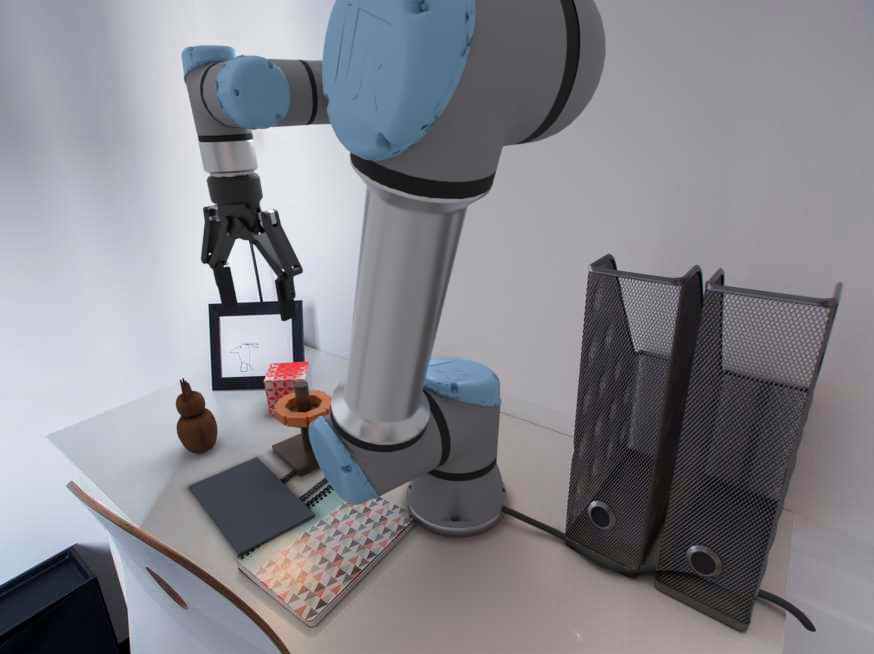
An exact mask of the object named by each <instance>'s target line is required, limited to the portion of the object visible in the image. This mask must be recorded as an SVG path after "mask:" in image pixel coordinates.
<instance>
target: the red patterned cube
mask: <svg viewBox="0 0 874 654" xmlns="http://www.w3.org/2000/svg"><path fill="white" fill-rule="evenodd" d="M298 381H306V382H308V387H309V390H314V385H313V384H314V383H313V377H312V369H311V364H310V361H293V362H271V363H270V365H269V367H268V369H267V372H266V374H265V376H264V379H263V384H264V391H265V395H266V396H265V397H266V401H267V407H268V411H269V416H272V417H273V416H274V417H275V412H274V406H275V405H276V403H277V402H278V400H279V399H280V398H282V397H283V396H285V395H288V394H291V393H294V386H293V385H294V383H295V382H298Z"/></svg>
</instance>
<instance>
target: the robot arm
mask: <svg viewBox="0 0 874 654" xmlns="http://www.w3.org/2000/svg"><path fill="white" fill-rule="evenodd" d="M603 23H604V22H603V17H602V16H601V13H600V11H599V8H598V6H597V3H596V2H595V0H335V1H334V2H333V5H332V7H331V12H330V15H329V18H328V22H327V26H326V31H325V36H324V43H323V48H322V49H323V50H322V59H297V58H296V59H294V58H293V59H290V58H288V59H287V58H267V57H263V56H260V55H253V54H252V55H245V54H244V55H243V54H241V55H240V54H239V53H238V50H236V49H235V48H234V47H232V46H229V45H219V44H216V45H215V44H203V45H202V44H201V45H193V46H192V45H191V46H187V47H185V48H183V49H182V51H181V57H180V58H181V63H182V68H183V70H182V71H183V82H184V83H185V85H186V90H187V95H188V99H189V103H190V104H189V105H190V108H191V114H192V118H193V123H194V126H195V127H194V128H195V132H196V136H197V141H198V147H199V152H200V158H201V162H202V168H203V171H204V173H207V174H209V176H207V178H206V185H207V189H208V194H209V198H210V199H209V200H210V201H211V203H212V204H213V205H212V204H211V205H208V206H203V208H202V213H203V219H204V224H203V233H202V235H203V236H202V243H201V252H200V262H201V264H203V265H206V264H207V265H208V266H209V268H210V269H211V270H212V273H213V277H214V281H215V286H216V287H217V289H218V295H219V298H220V303H221V307H222V309H224V310H225V309H229V308H231V307H235V306H237V305H238V298H237V293H236V288H235V284H234V278H233V274H232V270H231V269H232V268H231V266H228V265H229V264H230V263H229V261H228V260H229V258H230V255H231V253H232V250H233V248H234V245H235V243H236V240H238V239H239V240H243V241H248V242H249V244H251V245H253V246H255V248H256V249H257V251H258V252H259V253H260V255H261V256H262V257H263V259H264V260H265V262H266V263H267V264H268V266H269V267H270V268H271V270H272V271H273V273H274V274H275V276H276V277H277V278H276V279H274V285H275V292H276V297H277V304H278V310H279V316H280V321H282V322H286V321H289V320H291V319H293V318H295V317H297V309H296V302H295V299H296V297H297V294H296V293H297V292H296V288H295V287H296V286H295V280H294V279H295V277H296V276H299V275H301V274H303V273H304V269H303V266H302V264H301V262H300V261H299V258H298V256H297V254H296V252H295V250H294V248H293V246H292V244H291V242H290V240H289V238H288V236H287V234H286V231H285V230H284V227H283V226H282V223H281V217H280V214H279V211H278V209H276V208H273V209H269V210H263V209H262V206H261V201H262V199H263V197H264V195H263V188H262V181H261V177H260V175H259V173H257V172H255V171H256V170H257V169H258V168H259V167H258V166H259V165H258V159H257V154H256V147H255V141H254V134H253V131H256V130H267V129H270V128H282V127H299V126H311V125H313V126H314V125H315V126H316V125H317V126H318V125H330V126H331V128H332V131H333V132H334V135H335V136H336V138H337V140H338V141H339V143H340V144H341V145H342V146H343V148H344V149H346V150H347V151H348V152H349V164H350V166H351V168H352V170H353V171H354V173H356V174H357V176H358V177H359V178H360V179H361V181H362V182H363V183H364V184H365V186H366V187H365V198H364V207H363V215H362V216H363V217H362V226H361V236H360V245H359V255H358V264H357V273H356V274H357V275H356V284H355V292H354V293H355V294H354V304H353V314H352V321H351V331H350V342H349V351H348V361H347V362H348V363H347V372H346V378H344V379H343V380H342V381H340V383H339V384H337V386H336V387H335V389H334V390H333V392H332V394H331V397H332V398H331V405H330V414H329V415H326V416H324V417H322V416H319V417H318V418H317V419H316V420H314V421H312V422H311V423H310V425H309V439H310V443H311V446H312V449H313V452H314V455H315V457H316V459H317V462H318V464H319V466H320V470H321V472H322V474H323V476H324V477H325V479H326V481H327V483H328V484H329V485H330V487H331V489H332V490H333V491H334V492H335V493H336V495H337V496H338V497H339V498H340V499H341V500H342V501H344V502H345V503H347V504H348V505H352V506H359V505H361V504H364V503H366V502H369V501H371V500H376V499H377V500H378V499H379V497H382V496H384V495H385V494H387V493H389V492H391V491H393V490H395V489H397V488H399V487H401V486H404V485H405V484H407V483H408V487H407V490H406V505H407V510H408V513H409V516H410V517H411V518H412V519H413V520H414V521H415V523H416V524H417V525H419V526H420V527H421V528H423V529H425V530H427V531H429V532H432V533H434V534H436V535H441V536H445V537H455V538H463V537H471V536H476V535H479V534H482V533H485V532H487V531H489V530H491V529H493V528H494V527H496V526H497V524H499V523H500V522H501V521H502V520H503V518H504V516H505V514H506V515H508V516H510V517H513V518H514V519H517V520H519V521H521V522H524V523H526V524H527V525H530V526H532V527H535V528H536V529H539V530H541V531H543V532H546V533H548V534H549V535H552V536H554V537H556V538H558V539H560V540H561V541H563V542H565V543H566V544H568V545H569V546H570V547H572V548H574V549H575V550H576V551H577V552H579V553H580V554H581V555H582V556H583V557H585V558H586V559H588V560H589V561H590V562H592V563H593V564H595V565H597V566H599V567H601V568H603V569H606V570H609V571H612V572H615V573H616V572H617V573H621V574H643V573H651V572H657V571H656V569H657V567H656V566H657V563H658V562H657V563H647V564H640V565H641V567H640V569H637V570H628V569H626V568H625V567H623V566H621V565H622V564H618V563H614V562H612V561H611V562H610V561H607V560H605V559H603V558H601V557H599V556H597V555H596V554H594V553H593V552H592V551H590V550H588V549H587V548H586V547H584V546H583V545H582V544H581V542H578V541H577V540H575V539H574V538H573V537H571V538H572V539H574V540H575V541H576V542H577V543H579V544H580V545H578V544H576V543H574V542H573V541H571V540H569V539H567V538H566V535H567V534H566V533H564V531H560V530H559V529H557V528H554V527H553V526H551V525H548V524H546V523H544V522H542V521H539V520H537V519H535V518H532V517H530V516H529V515H526V514H524V513H521V512H519V511H517V510H515V509H513V508H510V507H508V506H507V503H508V502H507V501H508V493H507V489H506V485H505V483H504V481H503V477H502V473H501V471H500V467H499V464H498V449H499V433H500V431H499V430H500V420H501V419H500V418H501V417H500V416H501V405H502V398H501V382H500V378H499V376H498V374H497V373H496V372H495V371H494V370H492V368H490V367H488V366H486V365H485V364H482V363H480V362H477V361H474V360H471V359H466V358H460V357H450V356H449V357H448V356H447V357H445V356H444V357H442V356H441V357H434V358H432V354H433V350H434V346H435V342H436V338H437V334H438V329H439V325H440V321H441V317H442V312H443V309H444V305H445V301H446V297H447V294H448V293H447V292H448V289H449V285H450V282H451V281H450V280H451V277H452V272H453V269H454V266H455V265H454V264H455V261H456V256H457V252H458V249H459V244H460V240H461V237H462V232H463V227H464V223H465V219H466V215H467V211H468V207H469V206H470V205H472V204H473V203H475V202H478V201H479V200H480V199H482V198H484V197H486V196H487V195H488V194H489V193H490V192H491V190H492V188H493V185H494V181H495V177H496V173H497V170H498V167H499V162H500V160H501V155H502V152H503V149H504V147H508V146H517V145H525V144H529V143H536V142H540V141H543V140H546V139H548V138H550V137H553V136H555V135H558V134H559V133H560V132H562V131H563V130H564V129H566V128H567V127H569V126H570V125H571V124H572V123H573V122H574V121H576V119H578V118H579V116H580V115H582V113H583V112H584V110H585V109H586V108H587V106H588V105H589V104H590V102H591V101H592V99H593V96H594V95H595V93H596V91H597V89H598V88H599V84H600V81H601V78H602V75H603V72H604V66H605V60H606V54H607V51H606V50H607V48H606V47H607V45H606V33H605V28H604V24H603ZM565 534H566V535H565ZM756 597H757V598H760V599H763V600H766V601H768V602H771V603H772V604H775V605H777V606H778V607H781V608H782V609H784V610H785V611H787V612H788V613H789V614H791V615H792V616H793V617H795V618H796V619H797V621H798V622H800V624H801V625H802V626H803V627H804V628H805V629H806V630H807V631H809V632H811V633H815V632H817V629H816V627H815V625H814V623H813V621H811V619H810V618H809V617H808V616H807V615H806V614H805V613H804V612H803V611H801V610H800V608H798V607H796V606H795V605H794V604H792V603H791V602H789V601H788V600H787V599H784V598H782V597H780V596H779V595H776V594H774V593H771V592H769V591H766V590H764V589H761V588H759V592H758V595H757V596H756Z"/></svg>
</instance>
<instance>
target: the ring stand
mask: <svg viewBox="0 0 874 654" xmlns="http://www.w3.org/2000/svg"><path fill="white" fill-rule="evenodd" d="M293 386H294V392H295V398H296V405H297V406H295V407H293V408H290V411H291V412H308V411H310V410H313V409H316V408H318V407H319V405H317V404H311V400H310V393H309V387H308V382H306V381H298V382H295V383H294V385H293ZM295 428H297V429H300V433H297V434H296V435H293V436H291V437H288V438H286V439H284V440H282V441H279V442H277V443H274V444H271V449H272V453H273V454H274V455H276V457H278V458H279V460H281V461H282V462H283V463H284V464H285V465H287V467H288V468H290V470H291V471H293V472H294V473H295V474H296V475H297V477H299V478H302V477H304V476H307V475H309V474H311V473H313V472H315V471H317V470H321V468H320V466H319V464H318V462H317V459H316V457H315V455H314V452H313V449H312V446H311V443H310V439H309V425H308V426H307V427H295Z"/></svg>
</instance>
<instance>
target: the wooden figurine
mask: <svg viewBox="0 0 874 654" xmlns="http://www.w3.org/2000/svg"><path fill="white" fill-rule="evenodd" d="M179 383H180V384H179V386H180V389H181V393H180V394H178V396H177V397H176V399H175V408H176V411H177V413H178V414H179V415H180V416H179V418H178V420H177V422H176V435H177V438H178V440H179V441H180V443H181V445H182V446H183V447H184V448H185V450H187V451H188V452H189V453H191V454H195V455H201V454H205V453H207V452H208V451H210V450H212V449H213V448H214V446H215V445H216V442H217V439H218V433H219V431H218V423H217V420H216V417H215V415H214V414H213V413H212V410H210V409H209V408H207V407H206V399H205V397H204V396H203V394H202V393H201V392H200V391H197V390H193V389H192V386H191V385H190V383H189V382H188V381H187V380H185V378H184V377H182V379H179Z"/></svg>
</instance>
